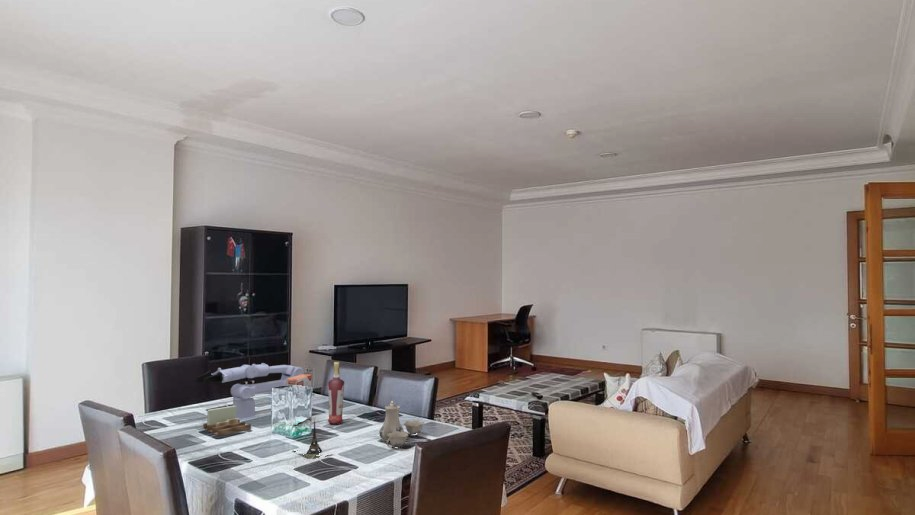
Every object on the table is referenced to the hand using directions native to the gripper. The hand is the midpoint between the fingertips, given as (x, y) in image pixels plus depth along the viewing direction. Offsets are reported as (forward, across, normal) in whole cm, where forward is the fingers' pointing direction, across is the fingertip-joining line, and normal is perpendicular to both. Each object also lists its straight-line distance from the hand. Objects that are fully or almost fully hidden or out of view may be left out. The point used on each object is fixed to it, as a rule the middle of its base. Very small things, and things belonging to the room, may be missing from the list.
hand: (200, 380), depth 237 cm
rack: (-5, +12, +21) cm, 25 cm away
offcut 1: (-3, +13, +21) cm, 24 cm away
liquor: (-43, +38, +25) cm, 63 cm away
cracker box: (-33, +24, +24) cm, 47 cm away
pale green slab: (-5, +8, +21) cm, 23 cm away
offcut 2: (-8, +11, +21) cm, 25 cm away
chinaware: (-45, +78, +28) cm, 94 cm away
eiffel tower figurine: (-12, +65, +26) cm, 71 cm away
